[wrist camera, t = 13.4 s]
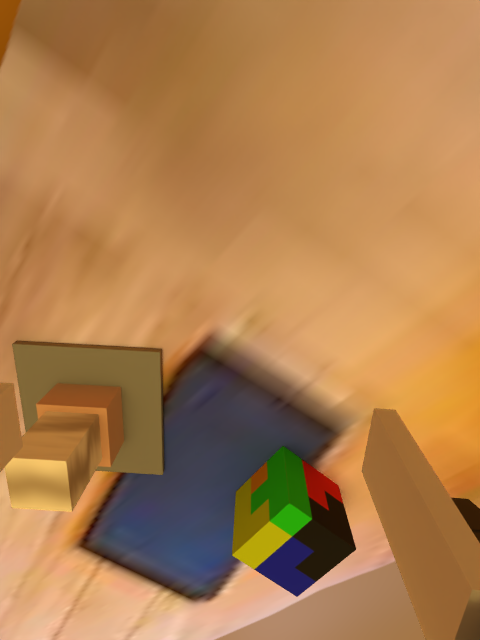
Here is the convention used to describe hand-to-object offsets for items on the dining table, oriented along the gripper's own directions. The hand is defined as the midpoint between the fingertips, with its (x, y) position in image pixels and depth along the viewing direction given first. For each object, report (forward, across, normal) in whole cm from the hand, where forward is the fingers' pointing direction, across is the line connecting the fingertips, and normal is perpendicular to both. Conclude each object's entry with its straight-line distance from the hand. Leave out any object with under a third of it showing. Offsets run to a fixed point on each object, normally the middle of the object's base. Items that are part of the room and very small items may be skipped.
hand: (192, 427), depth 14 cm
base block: (+30, -17, -20) cm, 40 cm away
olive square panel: (+31, -17, -20) cm, 41 cm away
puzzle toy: (+31, +9, -31) cm, 45 cm away
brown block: (+25, -17, -20) cm, 36 cm away
